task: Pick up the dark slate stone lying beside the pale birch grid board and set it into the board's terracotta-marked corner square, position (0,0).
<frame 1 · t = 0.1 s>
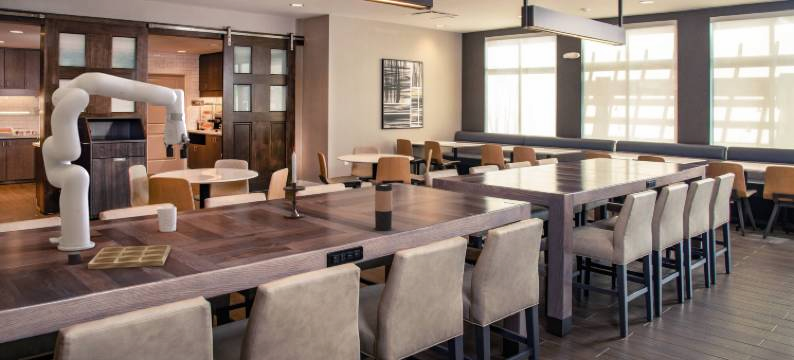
hand: (176, 157, 270), 31 cm above the table, tool pointing down, fingers open, 9 cm apart
travel mug: (383, 229, 278), on the table
candlestick: (294, 217, 304), on the table
stone: (74, 262, 216), on the table
white cup: (167, 231, 270), on the table
board: (131, 258, 222), on the table
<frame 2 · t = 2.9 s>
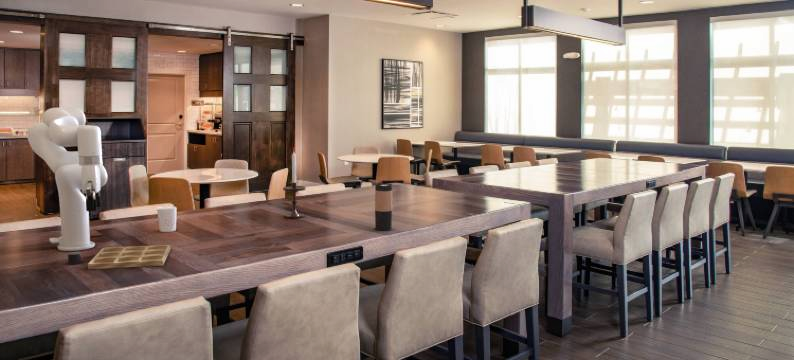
hand: (93, 209, 222), 17 cm above the table, tool pointing down, fingers open, 9 cm apart
nothing on the table moved.
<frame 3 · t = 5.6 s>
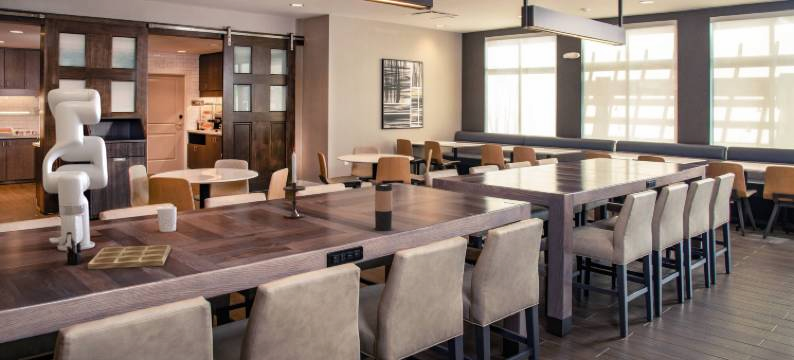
hand: (74, 262, 216), 0 cm above the table, tool pointing down, fingers closed on stone, 4 cm apart
stone: (74, 262, 216), on the table, touching gripper
everything else where it was.
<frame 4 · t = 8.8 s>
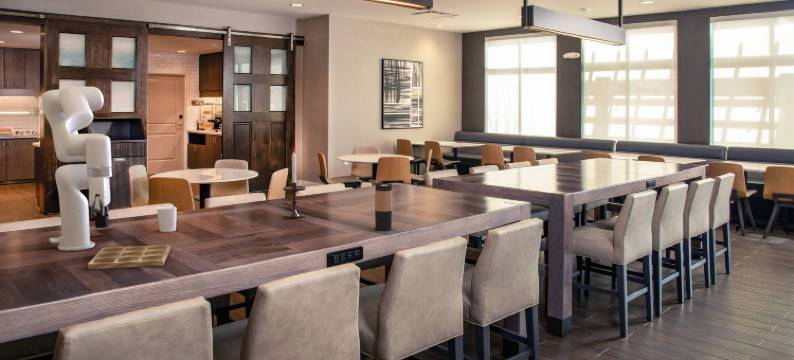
hand: (102, 225, 211), 14 cm above the table, tool pointing down, fingers closed on stone, 4 cm apart
stone: (102, 226, 211), point 13 cm above the table, touching gripper
everything else where it was.
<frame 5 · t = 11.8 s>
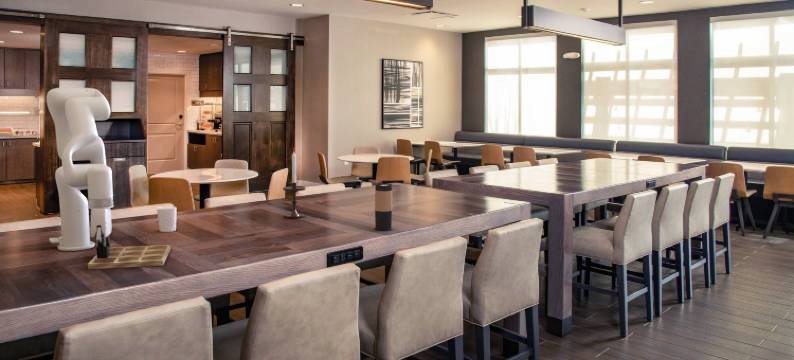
hand: (103, 255, 212), 3 cm above the table, tool pointing down, fingers closed on stone, 4 cm apart
stone: (103, 256, 212), point 3 cm above the table, touching gripper
everything else where it was.
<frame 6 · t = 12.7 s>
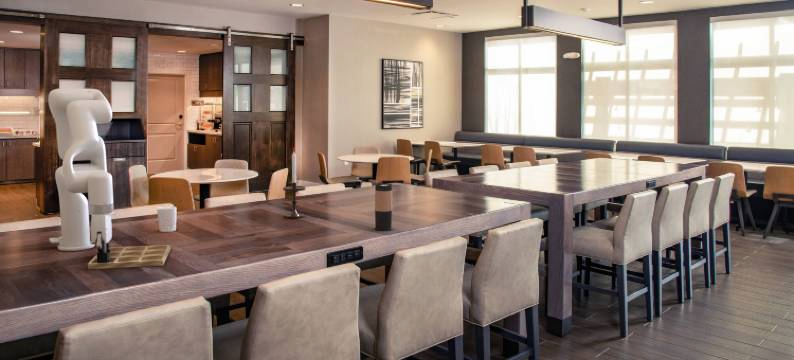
hand: (104, 261, 212), 1 cm above the table, tool pointing down, fingers closed on stone, 4 cm apart
stone: (104, 262, 212), point 1 cm above the table, touching gripper
everything else where it was.
when the fingers open (2 cm above the table, at t = 18.0 s): stone drops 1 cm, resting on board.
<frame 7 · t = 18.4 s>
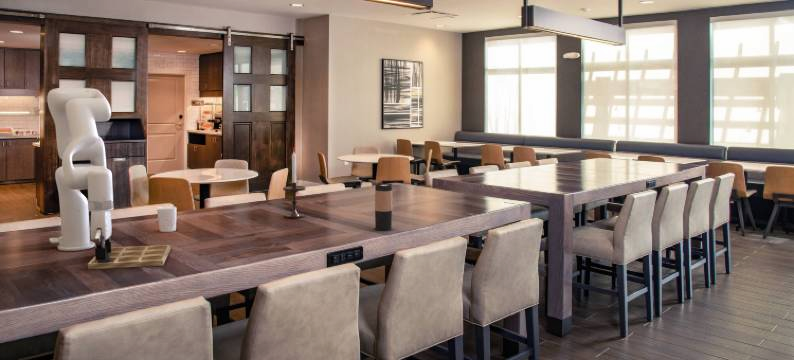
hand: (103, 256, 212), 3 cm above the table, tool pointing down, fingers open, 8 cm apart
stone: (103, 263, 213), point 1 cm above the table, touching board
everything else where it was.
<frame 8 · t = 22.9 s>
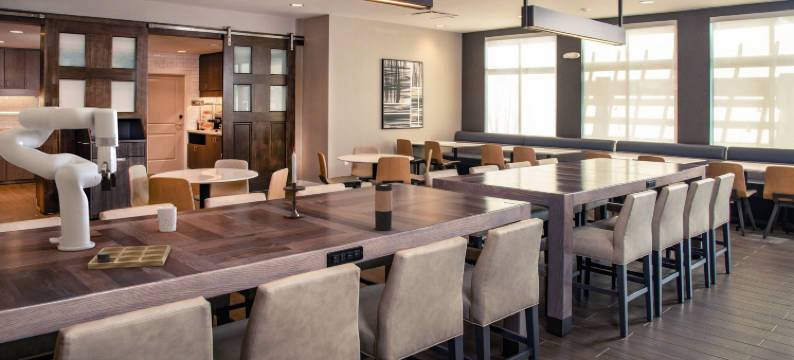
hand: (109, 188, 230), 23 cm above the table, tool pointing down, fingers open, 9 cm apart
nothing on the table moved.
at the end: stone 0.0 cm from the target spot in the board, point 0.8 cm above the board's base; stone tilted 0°; the gripper is holding nothing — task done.
